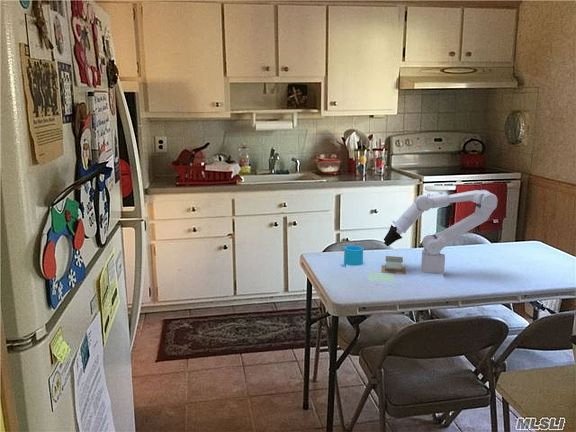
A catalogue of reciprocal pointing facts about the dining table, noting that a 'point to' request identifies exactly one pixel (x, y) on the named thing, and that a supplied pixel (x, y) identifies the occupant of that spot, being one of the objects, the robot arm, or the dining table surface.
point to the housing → (393, 263)
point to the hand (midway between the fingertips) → (385, 243)
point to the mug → (353, 255)
